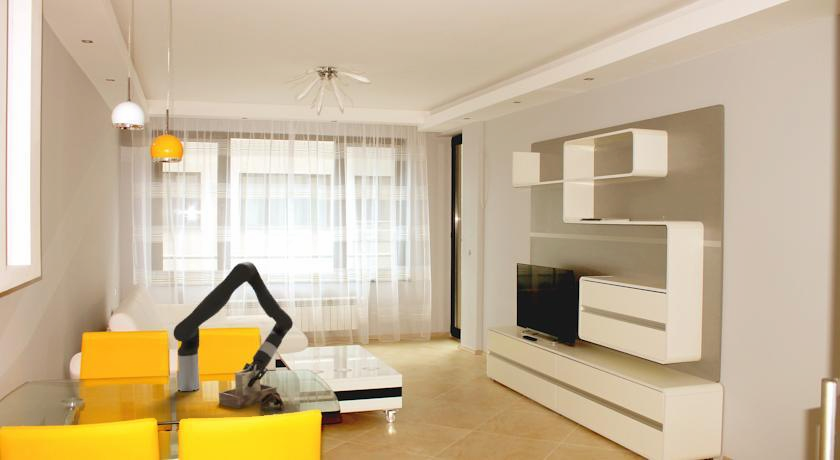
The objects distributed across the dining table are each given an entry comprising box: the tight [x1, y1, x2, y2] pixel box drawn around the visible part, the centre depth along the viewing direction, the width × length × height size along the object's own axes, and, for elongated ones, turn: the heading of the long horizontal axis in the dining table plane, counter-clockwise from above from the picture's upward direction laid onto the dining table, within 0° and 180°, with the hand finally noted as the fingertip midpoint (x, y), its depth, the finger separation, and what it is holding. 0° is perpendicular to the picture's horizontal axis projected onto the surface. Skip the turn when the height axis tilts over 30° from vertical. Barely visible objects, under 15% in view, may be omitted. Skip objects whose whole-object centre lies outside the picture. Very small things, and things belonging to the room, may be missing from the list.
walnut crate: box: [218, 383, 278, 410], centre depth 290 cm, size 20×15×5 cm
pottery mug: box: [258, 391, 285, 411], centre depth 276 cm, size 12×10×8 cm
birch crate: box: [234, 369, 261, 397], centre depth 290 cm, size 9×6×11 cm, turn 141°
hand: (244, 385), depth 289 cm, fingers closed on birch crate, 6 cm apart
